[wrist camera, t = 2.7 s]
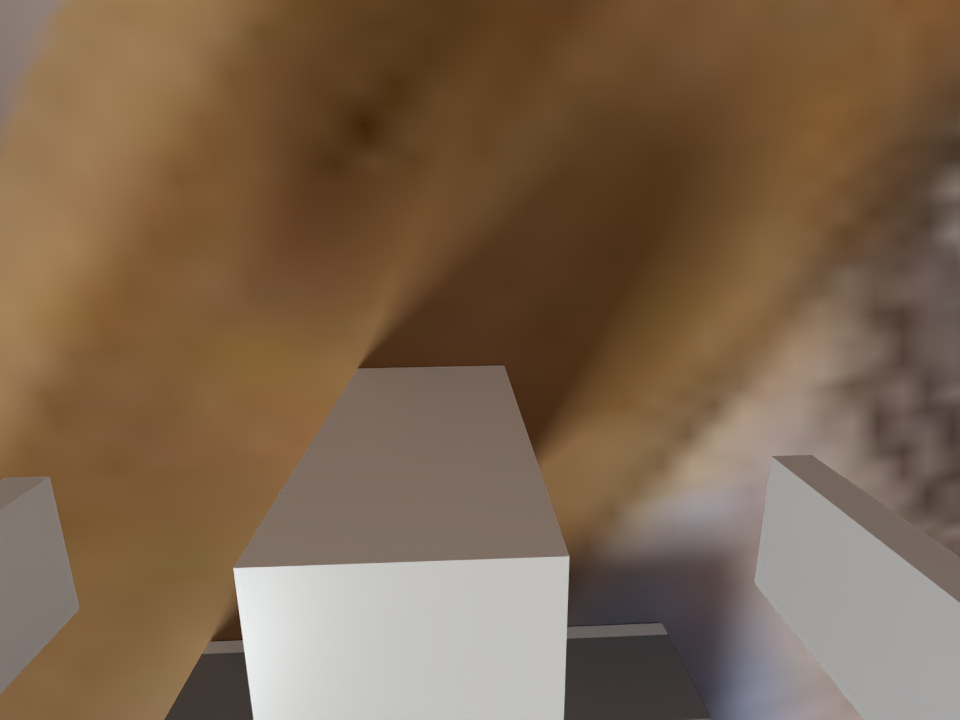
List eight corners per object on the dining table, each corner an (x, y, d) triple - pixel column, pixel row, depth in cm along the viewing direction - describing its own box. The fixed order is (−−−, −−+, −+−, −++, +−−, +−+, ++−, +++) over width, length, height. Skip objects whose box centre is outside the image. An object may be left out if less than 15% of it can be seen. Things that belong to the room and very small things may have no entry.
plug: (503, 497, 17) (560, 811, 8) (366, 501, 16) (268, 826, 8) (504, 365, 16) (569, 556, 7) (357, 368, 15) (233, 567, 7)
